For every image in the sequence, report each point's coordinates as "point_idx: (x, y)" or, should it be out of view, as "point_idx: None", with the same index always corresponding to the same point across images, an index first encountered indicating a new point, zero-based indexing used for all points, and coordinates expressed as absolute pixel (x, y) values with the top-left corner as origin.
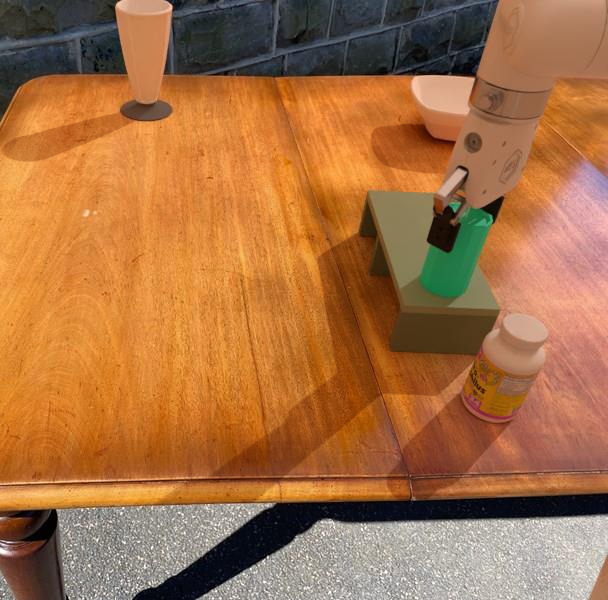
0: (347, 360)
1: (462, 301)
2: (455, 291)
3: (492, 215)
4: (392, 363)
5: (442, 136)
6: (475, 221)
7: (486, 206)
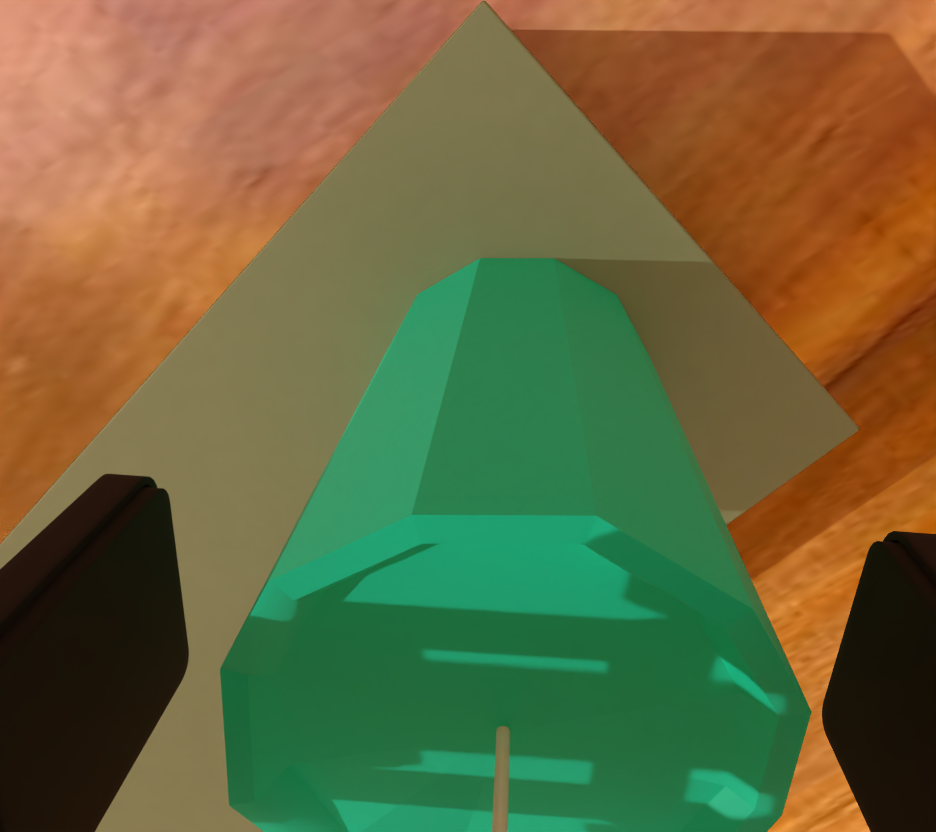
0: (922, 411)
1: (593, 222)
2: (598, 292)
3: (115, 555)
4: (821, 281)
5: None
6: (491, 637)
7: (96, 681)
